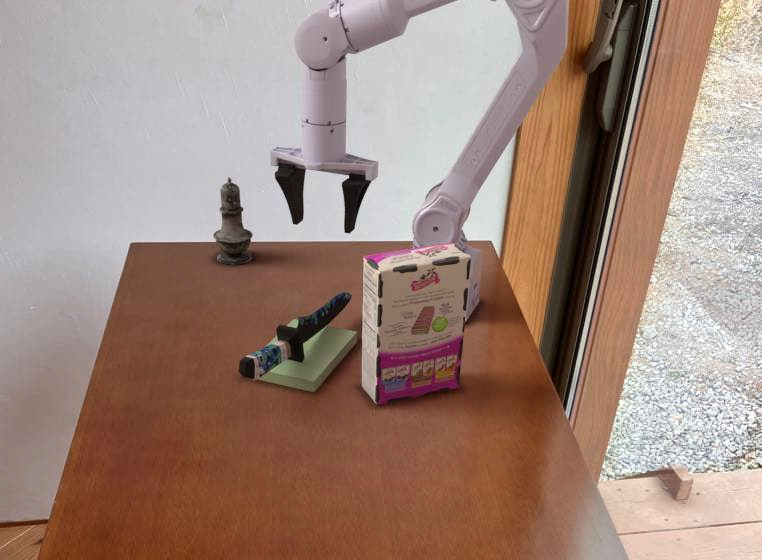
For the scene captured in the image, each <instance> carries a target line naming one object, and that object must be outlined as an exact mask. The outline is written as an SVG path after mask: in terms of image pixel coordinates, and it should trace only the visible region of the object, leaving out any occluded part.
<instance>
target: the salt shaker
mask: <svg viewBox="0 0 762 560" xmlns="http://www.w3.org/2000/svg"><path fill="white" fill-rule="evenodd" d="M226 181H227V182H226V183H224V184H222V185H221V186H220V190H219V192H220V203H221V206H220V207H219V208H218V211H219V212H220V214H221V228H220V229H218V230H216V231H215V232H213V235H212V236H213V239H215V244H216V245H217V247H218V249H219V250H220V251H222V252H220V253H219V254H218V255H217V257H216V259H217V261H218V262H219V263H222V264H224V265H228V266H229V265H231V266H238V265H244V264H247V263H249V262H250V261H251V260H252V259H253V256H252V254H251V253H249V252H248V251H247V250H248V249H249V248H250V244H251V242H252V238H253V236H254V235H253V232H252V231H250V230H249V229H246V228H245V227H244V224H243V215H242V214H243V213H242V212H244V207H243V206H241V190H240V186H239V185H238V184H236V183H234V182H232V178H231V177H230V176H228V178H227V179H226Z"/></svg>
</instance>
